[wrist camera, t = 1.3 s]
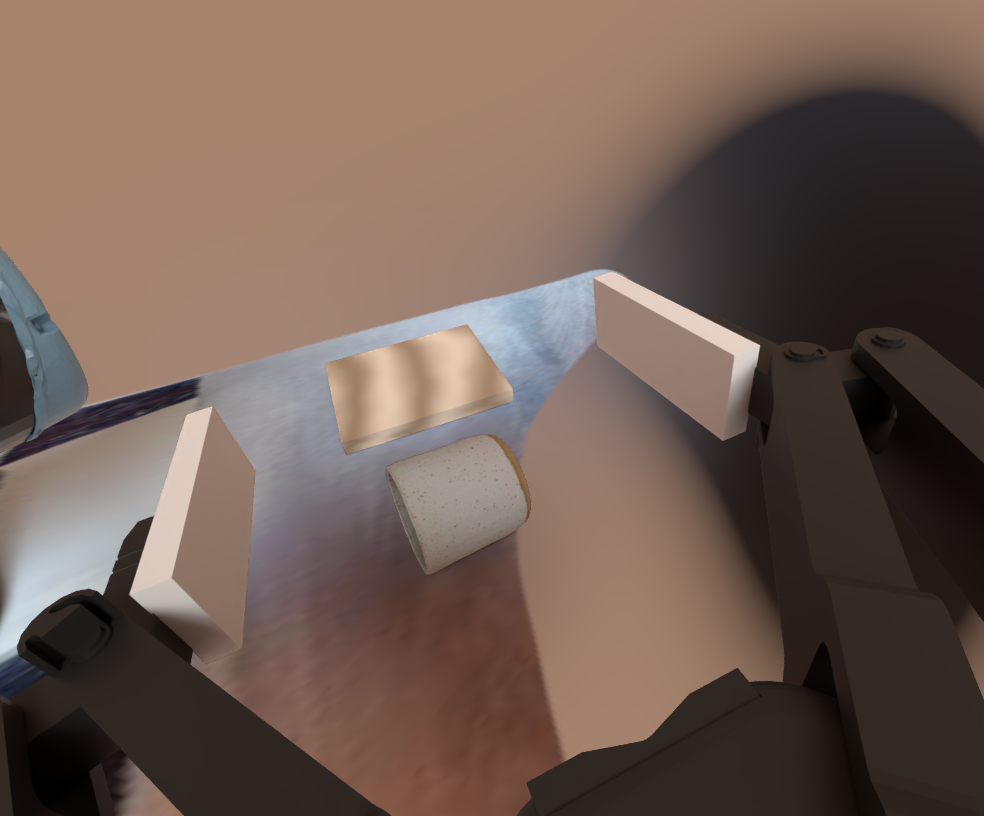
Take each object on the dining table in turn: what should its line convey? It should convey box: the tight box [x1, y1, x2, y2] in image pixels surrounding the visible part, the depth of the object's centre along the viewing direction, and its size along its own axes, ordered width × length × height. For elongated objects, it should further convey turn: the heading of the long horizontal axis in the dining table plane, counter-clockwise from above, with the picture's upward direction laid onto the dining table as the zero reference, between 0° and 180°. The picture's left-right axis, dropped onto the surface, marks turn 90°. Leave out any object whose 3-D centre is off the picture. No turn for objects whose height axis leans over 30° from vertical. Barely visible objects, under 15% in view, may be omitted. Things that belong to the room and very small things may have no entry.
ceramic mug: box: [386, 434, 531, 575], centre depth 34 cm, size 11×8×8 cm
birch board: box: [325, 324, 514, 455], centre depth 48 cm, size 16×13×2 cm
